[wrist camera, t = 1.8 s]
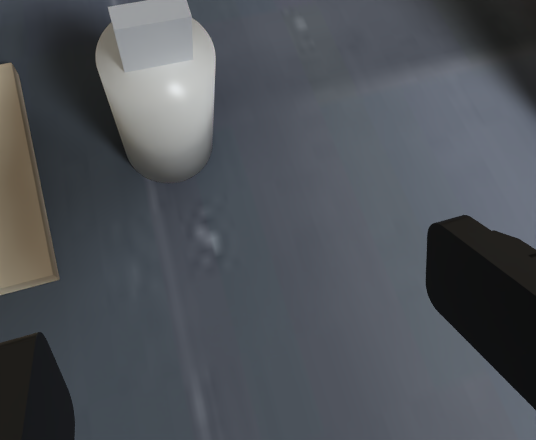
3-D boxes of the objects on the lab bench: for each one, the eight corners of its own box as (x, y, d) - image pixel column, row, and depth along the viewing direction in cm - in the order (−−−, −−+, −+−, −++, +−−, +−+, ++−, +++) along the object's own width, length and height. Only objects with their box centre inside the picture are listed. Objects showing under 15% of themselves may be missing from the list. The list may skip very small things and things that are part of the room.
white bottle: (199, 97, 30) (197, -51, 19) (222, 171, 28) (232, 55, 18) (116, 114, 29) (68, -32, 19) (135, 192, 27) (96, 81, 17)
